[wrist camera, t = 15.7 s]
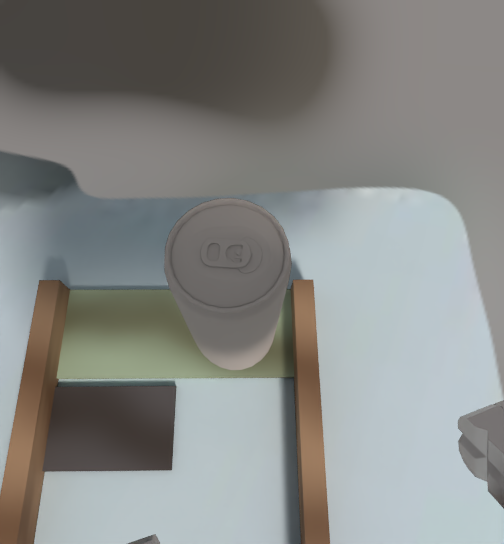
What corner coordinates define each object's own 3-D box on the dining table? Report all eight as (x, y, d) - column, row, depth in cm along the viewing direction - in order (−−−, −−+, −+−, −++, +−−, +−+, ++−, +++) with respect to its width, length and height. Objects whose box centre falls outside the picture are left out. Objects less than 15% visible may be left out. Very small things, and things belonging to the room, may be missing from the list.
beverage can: (271, 374, 26) (291, 320, 15) (190, 369, 26) (151, 311, 15) (275, 297, 28) (295, 198, 17) (199, 292, 28) (169, 190, 17)
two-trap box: (345, 906, 18) (356, 957, 17) (-53, 916, 18) (-86, 969, 16) (308, 290, 29) (313, 279, 27) (52, 291, 28) (39, 280, 26)
